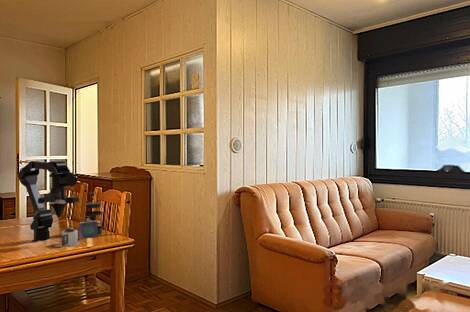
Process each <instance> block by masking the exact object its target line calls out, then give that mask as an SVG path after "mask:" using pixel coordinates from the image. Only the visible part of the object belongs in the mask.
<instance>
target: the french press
mask: <svg viewBox="0 0 470 312" xmlns="http://www.w3.org/2000/svg"><path fill="white" fill-rule="evenodd" d="M88 194H89V195H91V196H92V197H94V196H95V195H97V192H89V193H88ZM83 205H84V206H86V207H87V209H92V211H85V212H84V217H90V220H92V221H93V220H94V221H97V222H98V234H99V235H102V234H103V229H104V228H106V227H107V226H106V223H107V222H106V221H107V220H106V211H100V210H94V209H100V208H101V207H102V202H95V201H92V202H87V203H84V204H83ZM103 214H104V218H103V217H102V215H103ZM97 216H100V220H97ZM103 219H104V226H103ZM99 224H100V226H99ZM101 233H102V234H101Z"/></svg>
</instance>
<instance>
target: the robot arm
mask: <svg viewBox="0 0 470 312" xmlns="http://www.w3.org/2000/svg"><path fill="white" fill-rule="evenodd" d="M40 170H46V171H47V172H49V173H50V174H49V176H48V177H49V178H51V188H50V189H49V192H48V193H46V194H45V195H44V196H41V193H40V190H39V188H38V185H37V182H38V176H39V175H40ZM17 178H18V181H19V182H20V184H21V185H22V186H24V187H25V188H26V191H27V193H28V197H29V199H30V202H31V205H32V208H33V211H34V214H33V216H32V219H33V220H32V221H31V224H30V225H29V228H30V230H32V231H33V240H31V242H45V241H47V240H49V239H51V236H50V231H51V230H50V228H52V226H53V223H54V215H53V214H52V210H51V209H48V208H46V207H45V203H48V205H49V206H51V207H52V209H53V210H54V212H55V215H56V217H57V218H60V217H61V215H62V213H63V211H64V210H65V208H66V206H67V205H69V204H76V203H79V202H80V198H79V196H67V195H66V192H65V191H66V190H67V187H74V186H76V185H77V182H78V179H77V176H76V175H74V172H71V170H70V168H69V166H68V165H67V163H66V161H64V160H53V161H52V160H51V161H39V160H30V161H29V162H28V163H27V164H26V165H25V166H23V167H22V168H21V169H20V170H19V172H18V173H17Z"/></svg>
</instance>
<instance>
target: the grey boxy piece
mask: <svg viewBox="0 0 470 312" xmlns="http://www.w3.org/2000/svg"><path fill="white" fill-rule="evenodd" d="M60 233H61V234H60V236H61V237H60V238H61V243H60V244H62V245H63V246H70V245H75V244H77V243H78V242H79V241H78V240H79V229H73V231H70V232H69V231H65V230H63V231H61V232H60Z"/></svg>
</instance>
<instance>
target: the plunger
mask: <svg viewBox="0 0 470 312" xmlns="http://www.w3.org/2000/svg"><path fill="white" fill-rule="evenodd" d="M73 230H74V226H73V227H71V226H69V227H66V228H65V229H64V231H69V232H70V231H73Z"/></svg>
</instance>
